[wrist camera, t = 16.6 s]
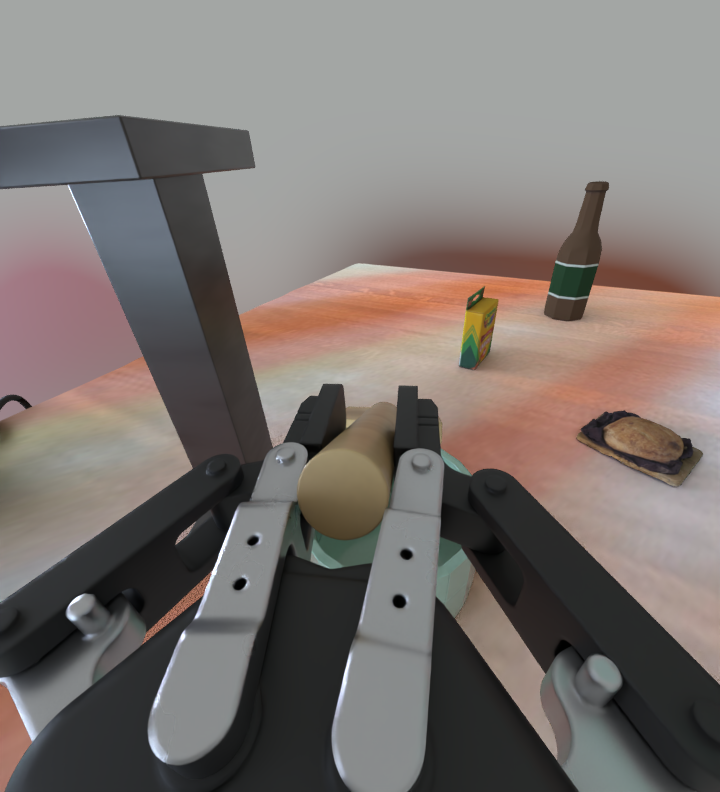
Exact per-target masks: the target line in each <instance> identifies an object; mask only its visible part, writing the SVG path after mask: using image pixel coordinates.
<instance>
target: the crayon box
mask: <svg viewBox="0 0 720 792" xmlns="http://www.w3.org/2000/svg"><path fill="white" fill-rule="evenodd" d="M484 289H485V286H484V287H483V288H481V289H480V290H479V291H477V292H476V293H475V294H473V295H472V296H470V297H469V298H468V301H467V307H466V314H465V322H464V330H463V338H462V345H461V353H460V361H459V366H460V367H464V368H468V369H472V370H475V368H476V367H477V366H478V365H479V364H480V363H481V361H482V360H483V359H484V358H485V357H486V356H487V355H488V353H489V352H490V347H491V341H492V335H493V329H494V324H495V318H496V312H497V306H498V299H492V298H484V297H483V293H484ZM478 294H479V297H478V298H477V299H476V300H475V301H473V302H472V300H473V298H475V296H476V295H478Z"/></svg>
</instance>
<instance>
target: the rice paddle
mask: <svg viewBox="0 0 720 792" xmlns="http://www.w3.org/2000/svg"><path fill="white" fill-rule="evenodd" d="M396 413H397V407H396V406H395V405H393V404H391V403H388V402H380V403H376V404H374V405H373V406H371V407H347V408H346V429H345V430H344V431H343V432H342V433H341V434H339V435H338V436H337V437H336V438H335V439H334V440H333V441H331V442H330V443H329V444H328V445H327V446H326V447H325V448H323V449H322V450H321V451H320V452H319V453H318V454H317V455H315V456H314V457H313V458H312V459H311V460H310V461H309V462H308V463H307V464H306V465H305V467H304V468H303V470H302V472H301V474H300V477H299V480H298V484H297V499H298V504H299V507H300V510H301V512H302V514H303V516H304V518H305V519H306V521H307V522H308V523H309V524H310V525H311V526H312V527H313V528H314V529H315V530H316V531H318V532H319V533H321V534H323V535H324V536H327V537H329V538H333V539H337V540H353V539H357V538H361V537H363V536H365V535H367V534H369V533H370V532H372V531H373V530H374V529H375V528H376V527H377V526H378V525H379V524H380V523H381V521H382V519H383V515H384V511H385V509H386V508H388V504H389V498H390V493H391V487H392V482H393V476H394V469H395V467H394V436H395V424H396ZM438 419H439V433H440V444H441V443H442V422H441V420H440V418H439V416H438Z"/></svg>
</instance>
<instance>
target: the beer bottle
mask: <svg viewBox="0 0 720 792" xmlns="http://www.w3.org/2000/svg"><path fill="white" fill-rule="evenodd" d="M608 189H609V183H608V182H590V183H588V185H587V187H586V188H585V190H586V195H585V198H584V201H583V204H582V207H581V210H580V214H579V217H578V220H577V223H576V226H575V228H574V231H573V232H572V233H571V234H570V236H569V237H568V238H567V239H566V240H565V242H564V243H563V245H562V247H561V248H560V250H559V253H558V256H557V259H556V263H555V267H554V271H553V276H552V279H551V284H550V288H549V292H548V296H547V300H546V305H545V310H544V314H545V315H547V316H549V317H551V318H552V319H557V320H564V321H572V320H578V319H581V318H582V315H583V313H584V310H585V307H586V303H587V300H588V297H589V294H590V290H591V287H592V284H593V280H594V277H595V274H596V270H597V267H598V264H599V260H600V255H601V251H602V246H601V239H600V237H599V234H598V226H599V220H600V215H601V211H602V206H603V201H604V198H605V193H606V191H607V190H608Z"/></svg>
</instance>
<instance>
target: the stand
mask: <svg viewBox="0 0 720 792" xmlns="http://www.w3.org/2000/svg"><path fill="white" fill-rule="evenodd" d="M250 168H255V162H254V157H253V152H252V146H251V141H250V136H249V131H247V130H239V129H231V128H223V127H214V126H205V125H197V124H189V123H180V122H172V121H163V120H155V119H147V118H139V117H130V116H121V115H115V116H104V117H94V118H83V119H73V120H63V121H53V122H42V123H31V124H20V125H9V126H0V189H10V188H25V187H40V186H55V185H68V187H69V189H70V191H71V193H72V196H73V198H74V200H75V202H76V205H77V207H78V209H79V211H80V214H81V216H82V218H83V220H84V223H85V225H86V227H87V229H88V232H89V234H90V236H91V239H92V241H93V243H94V245H95V248H96V250H97V252H98V254H99V257H100V259H101V261H102V263H103V266H104V268H105V270H106V273H107V275H108V277H109V279H110V281H111V284H112V286H113V288H114V290H115V293H116V295H117V297H118V299H119V302H120V304H121V306H122V309H123V311H124V313H125V316H126V318H127V320H128V322H129V325H130V327H131V329H132V331H133V334H134V336H135V338H136V340H137V342H138V345H139V347H140V349H141V352H142V354H143V356H144V359H145V361H146V363H147V365H148V368H149V370H150V372H151V374H152V377H153V379H154V381H155V383H156V386H157V388H158V390H159V392H160V395H161V397H162V399H163V402H164V404H165V406H166V408H167V411H168V413H169V415H170V417H171V420H172V422H173V424H174V426H175V429H176V431H177V433H178V435H179V438H180V440H181V442H182V444H183V447H184V449H185V451H186V454H187V456H188V458H189V460H190V463H191V465H192V467H193V468H195V467H196V466H198V465H199V464H201V463H202V462H204V461H205V460H207V459H208V458H210V457H213V456H215V455H219V454H231V455H234V456H236V457H237V458H238V459H239V461H240V464H247V463H252V462H257V461H261V460H264V459H265V457H266V455H267V453H268V452H269V451H270V450H271V449H272V448H273V447H272V443H271V439H270V435H269V431H268V427H267V423H266V419H265V416H264V412H263V408H262V404H261V400H260V396H259V392H258V388H257V384H256V381H255V377H254V373H253V369H252V365H251V361H250V357H249V353H248V350H247V346H246V342H245V338H244V334H243V330H242V326H241V322H240V318H239V315H238V311H237V307H236V303H235V299H234V295H233V291H232V287H231V284H230V280H229V276H228V272H227V268H226V264H225V260H224V257H223V253H222V249H221V245H220V241H219V237H218V234H217V229H216V225H215V221H214V218H213V214H212V210H211V206H210V202H209V198H208V194H207V190H206V187H205V183H204V179H203V175H202V174H203V173H211V172H221V171H231V170H240V169H250ZM211 516H212V514H211V512H210V510H209V511H208V512H207V513H205V514H204V515H203V516H202V517H200V518H199V519H198V520H197V521H196V523H195V524H194V526H193V528H192V529H191V531H190V533H191V532H192V531H194V530H195V529H196V528H197V527H198V526H200V525H201V524H202V523H203V522H204V521H206V520H207V519H208V518H209V517H211ZM190 533H189V534H190ZM189 534H188V535H189Z"/></svg>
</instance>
